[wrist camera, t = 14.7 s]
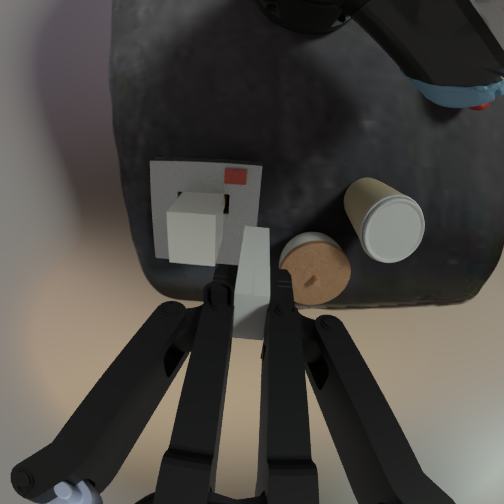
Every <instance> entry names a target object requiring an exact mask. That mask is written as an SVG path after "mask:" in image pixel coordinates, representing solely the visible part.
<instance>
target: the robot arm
mask: <svg viewBox="0 0 504 504" xmlns="http://www.w3.org/2000/svg"><path fill="white" fill-rule="evenodd" d="M255 1H256V3H257V5H258V7H259V8H260V10H261V11H262V12H263V13H264V14H265V15H266V16H267V17H268V18H269V19H270V20H272V21H273V22H275V23H276V24H278V25H280V26H282V27H284V28H286V29H289V30H292V31H296V32H300V33H307V34H321V33H327V32H331V31H334V30H337V29H339V28H341V27H342V26H344V25H345V24H346V23H347V22H349V21H350V20H351V19H353V20H354V21H355V22H356V23H357V24H358V25H360V26H361V27H362V28H363V29H364V30H365V31H366V32H367V33H368V34H369V35H370V36H371V37H372V38H373V39H374V40H375V41H376V42H377V43H378V44H379V45H380V46H381V47H382V48H383V49H384V50H385V51H386V53H387V54H388V55H389V56H390V57H391V58H392V59H393V60H394V61H395V63H396V64H397V65H398V66H399V67H400V71H401V72H402V73H403V75H404V76H405V77H406V78H408V79H409V80H410V81H412V82H413V84H414V85H415V86H416V87H417V88H418V90H419V91H420V92H421V93H422V94H423V95H424V96H425V97H426V98H427V99H428V100H431V101H432V102H433V103H435V104H437V105H440V106H444V107H449V108H468V107H475V106H479V105H483V104H486V103H489V102H491V101H493V100H495V96H502V95H503V94H504V0H255ZM292 287H293V286H292V277H291V274H290V273H289V272H288V270H287V269H277V268H270V240H269V228H261V227H251V226H245V228H244V234H243V241H242V247H241V253H240V260H239V265H229V264H220V265H219V266H218V267H217V268H216V270H215V273H214V277H213V281H212V282H211V283H209V284H207V285H206V286H205V287H204V289H203V294H204V304H202V305H201V306H198V307H195V308H187V309H186V308H185V306H184V305H183V304H181V303H179V302H176V301H167V302H164V303H162V304H161V305H159V306H158V307H157V308H156V310H155V311H154V312H153V313H152V314H151V316H150V317H149V318H148V319H147V321H146V322H145V323H144V324H143V325H142V327H141V328H140V329H139V330H138V331H137V333H136V334H135V335H134V336H133V338H132V339H131V340H130V341H129V343H128V344H127V345H126V346H125V347H124V349H123V350H122V351H121V353H120V354H119V355H118V356H117V357H116V359H115V360H114V361H113V363H112V364H111V365H110V366H109V368H108V369H107V370H106V371H105V373H104V374H103V375H102V377H101V378H100V379H99V380H98V382H97V383H96V384H95V386H94V387H93V388H92V390H91V391H90V392H89V394H88V395H87V396H86V397H85V399H84V400H83V401H82V403H81V404H80V405H79V407H78V408H77V409H76V411H75V412H74V413H73V415H72V416H71V417H70V419H69V420H68V421H67V423H66V424H65V425H64V427H63V428H62V430H61V431H60V433H59V434H58V435H57V436H56V438H55V439H54V441H53V442H52V443H50V444H49V445H47V446H46V447H44V448H43V449H41V450H40V451H38V452H36V453H35V454H33V455H32V456H30V457H28V458H27V459H25V460H24V461H22V462H20V463H19V464H17V465H16V466H15V467H14V468H13V469H12V472H11V483H12V485H13V488H14V489H15V491H16V492H17V493H18V494H19V495H21V496H22V497H23V498H26V499H28V500H30V501H32V502H35V503H36V504H103V501H102V498H101V496H100V493H101V492H102V491H104V489H105V488H106V487H107V486H108V485H109V484H110V483H111V481H112V480H113V479H114V477H115V476H116V474H117V473H118V471H119V469H120V468H121V466H122V464H123V463H124V461H125V459H126V458H127V456H128V454H129V453H130V451H131V449H132V448H133V446H134V444H135V443H136V441H137V439H138V438H139V436H140V434H141V433H142V431H143V429H144V428H145V426H146V424H147V423H148V421H149V419H150V418H151V416H152V414H153V413H154V411H155V409H156V408H157V406H158V404H159V403H160V401H161V400H162V398H163V396H164V394H165V393H166V391H167V390H168V388H169V386H170V385H171V383H172V381H173V379H174V378H175V376H176V375H177V373H178V371H179V370H180V368H181V366H182V365H183V363H184V361H185V360H186V358H187V356H188V355H189V352H191V355H190V359H189V363H188V367H187V371H186V375H185V379H184V383H183V387H182V392H181V397H180V400H179V405H178V409H177V413H176V418H175V423H174V427H173V431H172V436H171V441H170V445H169V448H168V450H167V451H166V452H165V453H164V455H163V459H162V462H161V466H160V471H159V476H158V481H157V485H156V491H155V492H154V493H151V494H149V495H147V496H145V497H144V498H142V499H141V500H139V501H138V502H136V503H135V504H319V489H318V473H317V467H316V465H315V463H314V462H313V461H312V458H311V444H310V429H309V415H308V402H307V390H306V379H305V371H306V373H307V376H308V378H309V381H310V383H311V386H312V388H313V391H314V393H315V396H316V399H317V401H318V403H319V406H320V409H321V411H322V413H323V416H324V419H325V421H326V424H327V426H328V429H329V431H330V434H331V436H332V439H333V442H334V444H335V447H336V449H337V452H338V454H339V457H340V460H341V462H342V465H343V467H344V470H345V472H346V475H347V477H348V480H349V483H350V485H351V488H352V490H353V493H354V495H355V497H356V499H357V502H358V504H455V502H454V501H453V499H451V498H450V497H449V496H448V495H447V494H446V493H445V492H444V491H442V489H440V488H439V487H438V486H437V485H436V484H435V483H433V481H432V480H431V479H429V477H427V476H426V475H425V474H424V473H423V471H422V469H421V467H420V465H419V463H418V461H417V459H416V457H415V455H414V453H413V451H412V449H411V447H410V445H409V443H408V441H407V439H406V437H405V435H404V433H403V431H402V429H401V427H400V425H399V423H398V421H397V419H396V418H395V416H394V414H393V412H392V410H391V408H390V406H389V405H388V402H387V401H386V399H385V397H384V395H383V393H382V391H381V390H380V388H379V386H378V384H377V382H376V380H375V379H374V377H373V375H372V373H371V371H370V370H369V368H368V366H367V364H366V363H365V361H364V359H363V357H362V356H361V354H360V352H359V350H358V348H357V347H356V345H355V343H354V342H353V340H352V338H351V336H350V335H349V333H348V331H347V330H346V328H345V326H344V325H343V323H342V322H341V321H340V320H339V319H338V318H337V317H335V316H332V315H321V316H319V317H318V318H316V320H313V319H310V318H307V317H305V316H303V315H301V314H300V313H299V312H298V310H297V308H296V307H295V303H294V294H293V288H292ZM232 337H234V338H244V339H255V340H263V338H264V342H263V347H262V353H261V359H262V374H261V402H260V404H261V405H260V429H259V451H258V473H257V483H256V489H255V497H253V498H246V499H239V500H236V499H232V498H229V497H226V496H223V495H220V494H217V493H215V481H216V469H217V461H218V452H219V443H220V435H221V427H222V417H223V409H224V402H225V393H226V385H227V376H228V369H229V361H230V352H231V343H232Z"/></svg>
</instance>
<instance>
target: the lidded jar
mask: <svg viewBox="0 0 504 504" xmlns="http://www.w3.org/2000/svg"><path fill="white" fill-rule="evenodd" d="M279 269H287V270H288V272H289V273H290V274H291V277H292V286H293V287H292V288H293V294H294V301H295V302H297V303H301V304H306V305H316V304H321V303H325V302H327V301H330V300H331V299H333V298H335V297H336V296H338V295H339V294H340V293H341V292H342V291H343V289H344V288H345V287H346V285H347V283H348V281H349V278H350V273H351V268H350V263H349V260H348V258H347V256H346V255H345V253H344V252H343V250H342V249H341V247H340V246H339V245H338V244H337V242H336V241H334V240H333V239H332V238H331V237H329V236H327V235H325V234H323V233H319V232H305V233H301V234H299V235H297V236H295V237H294V238H292V239H291V240H290V241H289V242H288V243H287V244H286V245H285V247H284V249H283V251H282V253H281V256H280V260H279Z"/></svg>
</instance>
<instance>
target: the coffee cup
mask: <svg viewBox="0 0 504 504" xmlns="http://www.w3.org/2000/svg"><path fill="white" fill-rule="evenodd" d="M344 208H345V211H346V213H347V215H348V217H349V219H350V221H351V223H352V225H353V227H354V229H355V231H356V233H357V235H358V237H359V239H360V242H361V245H362V247H363V249H364V251H365V252H366V253H367V254H368V255H369V256H370V257H371V258H373V259H375V260H377V261H380V262H385V263H393V262H398V261H400V260H403V259H405V258H406V257H408V256H409V255H410V254H412V253H413V252H414V251H415V249H416V248H417V247H418V245H419V244H420V242H421V240H422V237H423V234H424V227H425V223H424V217H423V213H422V210H421V208H420V207H419V205H418V204H417V203H416V202H415V201H414V200H413V199H411V198H410V197H408V196H405V195H403V194H401V193H400V192H398V191H396V190H395V189H393V188H391V187H389V186H387V185H386V184H384V183H382V182H380V181H378V180H376V179H373V178H362V179H359V180H357V181H355V182H353V183H352V184H351V185H350V186H349V188H348V189H347V191H346V193H345V196H344Z"/></svg>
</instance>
